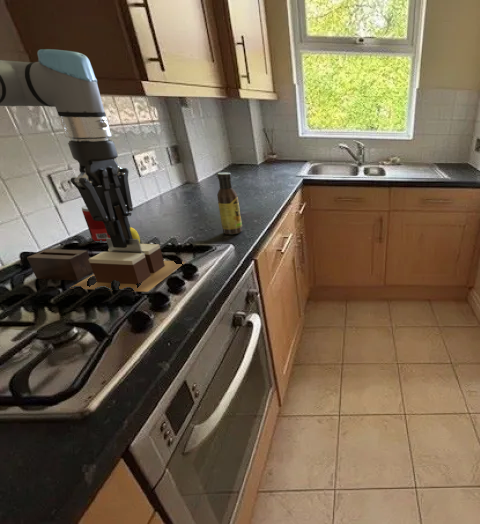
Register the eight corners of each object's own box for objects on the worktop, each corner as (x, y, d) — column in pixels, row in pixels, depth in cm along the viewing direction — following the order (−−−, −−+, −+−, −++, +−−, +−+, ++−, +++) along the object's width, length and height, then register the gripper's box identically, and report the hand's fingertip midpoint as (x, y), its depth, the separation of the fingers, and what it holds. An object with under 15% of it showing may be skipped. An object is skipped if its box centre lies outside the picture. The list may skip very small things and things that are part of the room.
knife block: (39, 284, 78) (26, 257, 75) (57, 274, 83) (47, 248, 80) (80, 286, 78) (69, 259, 75) (96, 276, 83) (87, 250, 80)
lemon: (115, 254, 95) (106, 227, 91) (132, 246, 100) (124, 221, 96) (131, 256, 94) (123, 229, 90) (147, 249, 98) (140, 223, 95)
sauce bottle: (242, 234, 111) (233, 174, 103) (222, 236, 110) (212, 175, 101) (242, 228, 117) (234, 171, 108) (223, 230, 115) (214, 171, 107)
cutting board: (71, 293, 75) (69, 288, 74) (122, 263, 89) (120, 258, 89) (149, 297, 74) (147, 291, 74) (187, 266, 89) (186, 261, 88)
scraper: (114, 270, 80) (92, 205, 73) (118, 267, 81) (97, 203, 75) (144, 271, 80) (125, 207, 73) (149, 268, 81) (130, 205, 74)
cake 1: (96, 282, 77) (88, 259, 74) (110, 274, 81) (103, 251, 78) (138, 284, 76) (131, 261, 74) (150, 275, 80) (144, 253, 78)
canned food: (129, 238, 106) (119, 204, 101) (100, 246, 99) (88, 210, 95) (117, 233, 109) (106, 201, 104) (88, 241, 103) (76, 206, 98)
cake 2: (115, 271, 82) (107, 249, 79) (127, 264, 86) (120, 242, 83) (154, 273, 82) (148, 251, 79) (165, 265, 86) (159, 244, 83)
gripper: (78, 143, 61) (116, 258, 71) (133, 137, 74) (158, 235, 84) (39, 142, 61) (82, 257, 71) (100, 135, 75) (130, 233, 85)
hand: (123, 245), depth 78 cm, fingers closed on scraper, 2 cm apart
